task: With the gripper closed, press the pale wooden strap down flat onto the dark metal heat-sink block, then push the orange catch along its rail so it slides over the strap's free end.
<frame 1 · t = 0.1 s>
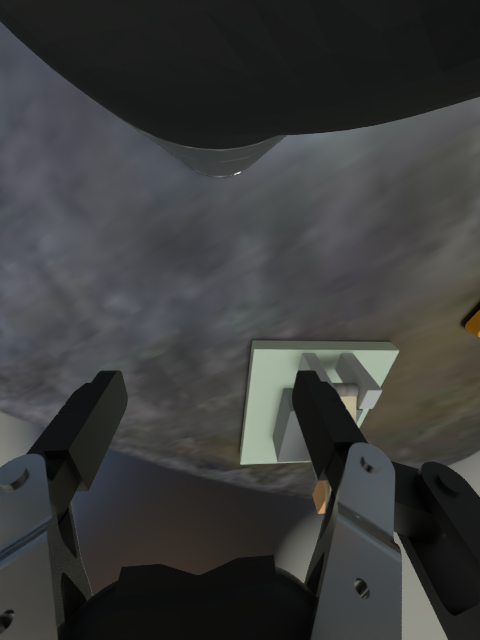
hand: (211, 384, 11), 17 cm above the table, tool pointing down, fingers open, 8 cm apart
strap: (340, 480, 26), point 12 cm above the table, hinge at 30.0°
catch: (342, 499, 35), point 10 cm above the table, slide at 0.0 cm
board: (303, 406, 38), on the table
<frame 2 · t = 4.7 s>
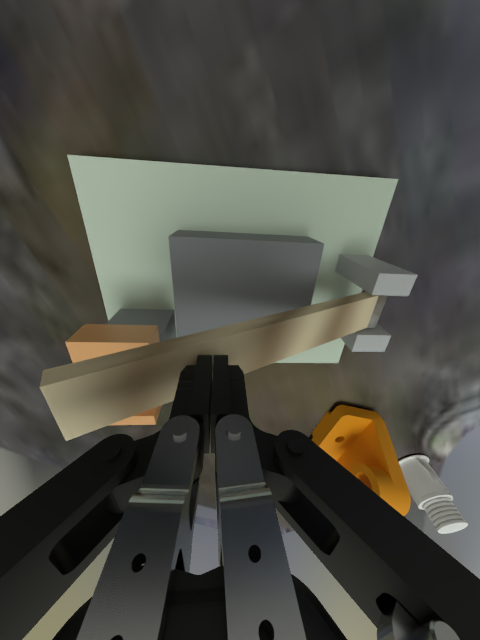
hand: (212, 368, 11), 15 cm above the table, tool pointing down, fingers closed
strap: (276, 337, 14), point 12 cm above the table, hinge at 27.9°, touching gripper
bracket: (337, 424, 38), on the table
catch: (120, 374, 18), point 10 cm above the table, slide at 0.0 cm
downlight: (408, 463, 45), on the table
board: (235, 278, 25), on the table
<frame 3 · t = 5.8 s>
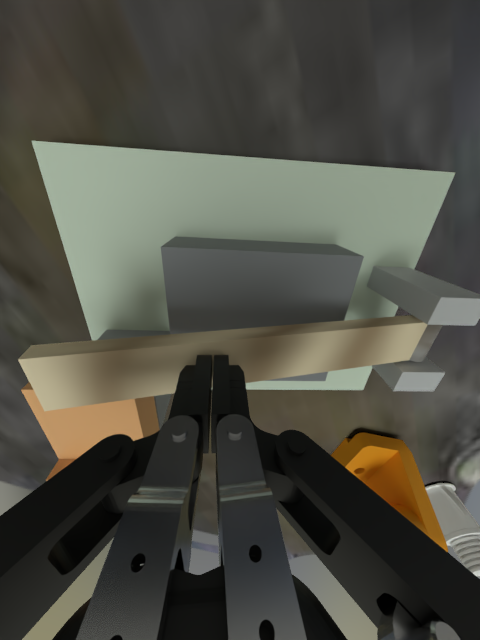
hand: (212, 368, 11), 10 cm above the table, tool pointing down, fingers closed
strap: (274, 353, 13), point 9 cm above the table, hinge at 11.3°, touching gripper
bracket: (355, 451, 34), on the table
catch: (100, 423, 14), point 10 cm above the table, slide at 0.0 cm
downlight: (431, 490, 41), on the table
board: (244, 293, 21), on the table
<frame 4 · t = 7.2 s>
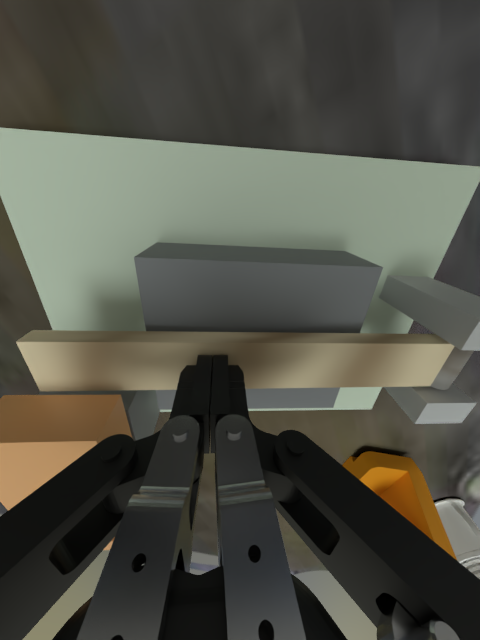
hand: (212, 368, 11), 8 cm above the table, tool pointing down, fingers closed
strap: (264, 361, 12), point 7 cm above the table, hinge at 0.7°, touching gripper
bracket: (360, 469, 32), on the table
catch: (62, 473, 11), point 10 cm above the table, slide at 0.0 cm
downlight: (439, 505, 39), on the table
board: (240, 305, 18), on the table
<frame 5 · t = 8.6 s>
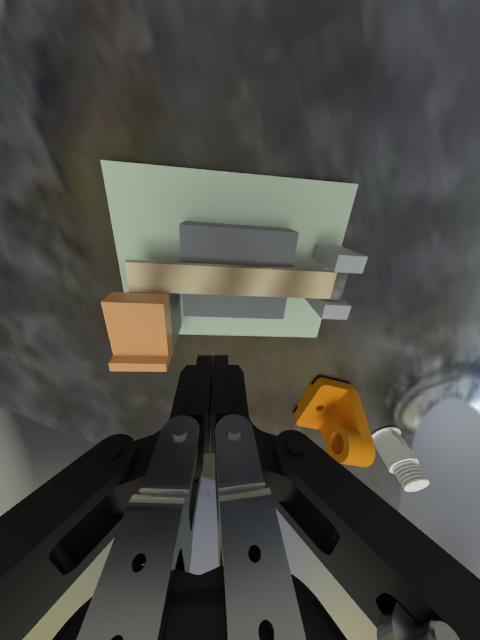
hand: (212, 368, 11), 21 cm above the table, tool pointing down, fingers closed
strap: (241, 280, 24), point 7 cm above the table, hinge at 0.7°
bracket: (319, 397, 44), on the table
catch: (140, 332, 23), point 10 cm above the table, slide at 0.0 cm
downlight: (383, 435, 51), on the table
board: (230, 263, 30), on the table
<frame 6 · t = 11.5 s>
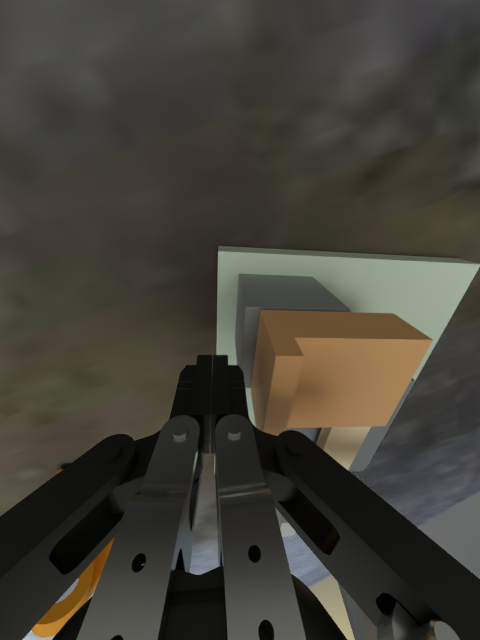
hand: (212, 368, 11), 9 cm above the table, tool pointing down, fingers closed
strap: (336, 449, 19), point 7 cm above the table, hinge at 0.7°
bracket: (105, 479, 31), on the table
catch: (330, 378, 11), point 10 cm above the table, slide at 0.7 cm, touching gripper
board: (309, 379, 24), on the table
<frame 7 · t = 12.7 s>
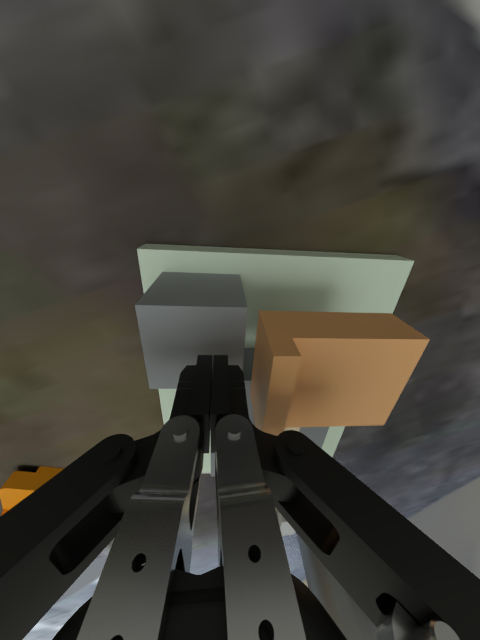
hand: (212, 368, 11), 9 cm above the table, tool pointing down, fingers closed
strap: (272, 450, 18), point 7 cm above the table, hinge at 0.7°
bracket: (65, 481, 31), on the table
catch: (328, 378, 11), point 10 cm above the table, slide at 6.0 cm, touching gripper
board: (260, 379, 24), on the table
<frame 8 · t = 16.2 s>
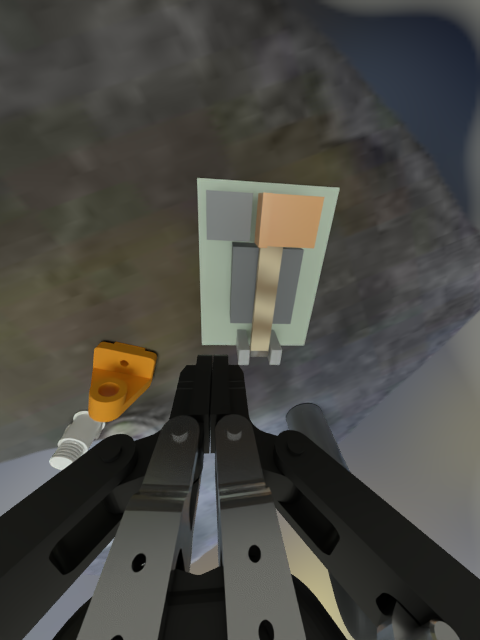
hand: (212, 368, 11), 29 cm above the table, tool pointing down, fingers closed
strap: (265, 294, 33), point 7 cm above the table, hinge at 0.7°
bracket: (129, 358, 46), on the table
catch: (288, 221, 26), point 10 cm above the table, slide at 6.1 cm
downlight: (90, 419, 53), on the table
board: (259, 274, 39), on the table
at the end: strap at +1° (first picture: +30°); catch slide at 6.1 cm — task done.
